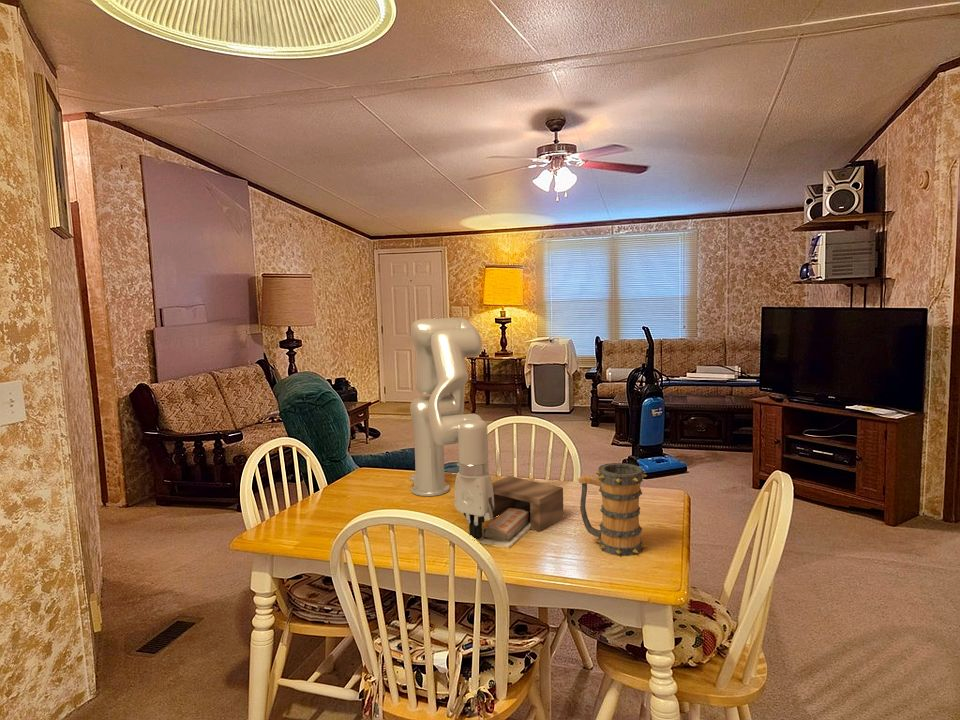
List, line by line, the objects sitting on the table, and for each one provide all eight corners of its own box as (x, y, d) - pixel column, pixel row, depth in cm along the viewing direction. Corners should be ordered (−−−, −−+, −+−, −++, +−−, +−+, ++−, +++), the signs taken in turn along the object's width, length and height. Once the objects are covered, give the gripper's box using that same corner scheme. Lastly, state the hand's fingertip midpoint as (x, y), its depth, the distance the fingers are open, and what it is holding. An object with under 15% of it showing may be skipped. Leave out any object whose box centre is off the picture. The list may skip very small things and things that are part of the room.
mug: (646, 560, 138) (646, 478, 136) (573, 553, 144) (572, 473, 142) (648, 539, 151) (648, 463, 149) (580, 532, 156) (580, 459, 154)
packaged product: (502, 504, 167) (535, 509, 162) (503, 520, 167) (535, 526, 163) (473, 526, 151) (508, 532, 146) (473, 544, 152) (508, 551, 147)
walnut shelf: (484, 516, 169) (484, 486, 168) (509, 504, 178) (508, 476, 178) (540, 531, 157) (539, 499, 156) (563, 518, 166) (563, 487, 166)
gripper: (442, 467, 151) (444, 536, 153) (487, 476, 142) (489, 550, 143) (461, 460, 157) (463, 527, 158) (506, 469, 147) (508, 540, 149)
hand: (476, 538), depth 151 cm, fingers closed
